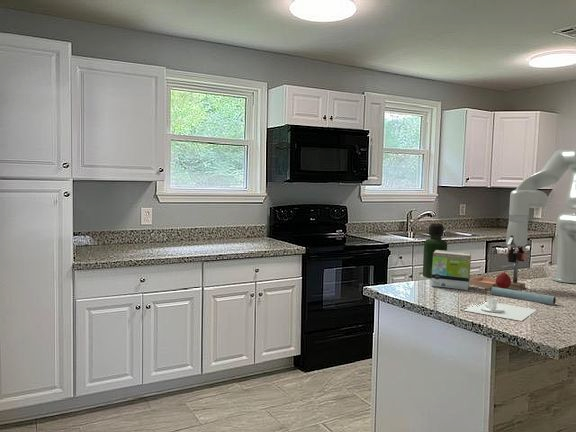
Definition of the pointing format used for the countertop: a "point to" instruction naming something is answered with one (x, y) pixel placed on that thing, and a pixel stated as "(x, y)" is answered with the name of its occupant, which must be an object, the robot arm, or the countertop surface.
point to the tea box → (451, 269)
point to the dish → (483, 282)
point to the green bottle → (433, 247)
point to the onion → (503, 280)
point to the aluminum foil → (524, 295)
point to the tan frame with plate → (512, 286)
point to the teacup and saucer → (501, 310)
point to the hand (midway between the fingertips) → (516, 261)
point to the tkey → (515, 265)
